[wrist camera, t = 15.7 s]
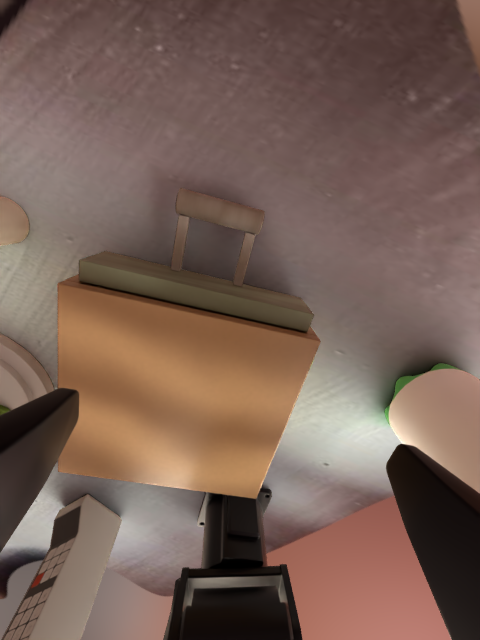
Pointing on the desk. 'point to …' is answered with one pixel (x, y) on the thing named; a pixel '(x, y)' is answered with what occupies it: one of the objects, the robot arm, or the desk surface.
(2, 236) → the glue stick
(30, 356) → the monster figurine
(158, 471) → the cabinet
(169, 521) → the desk surface
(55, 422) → the robot arm
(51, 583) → the vintage mobile phone
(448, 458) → the cup
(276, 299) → the drawer
